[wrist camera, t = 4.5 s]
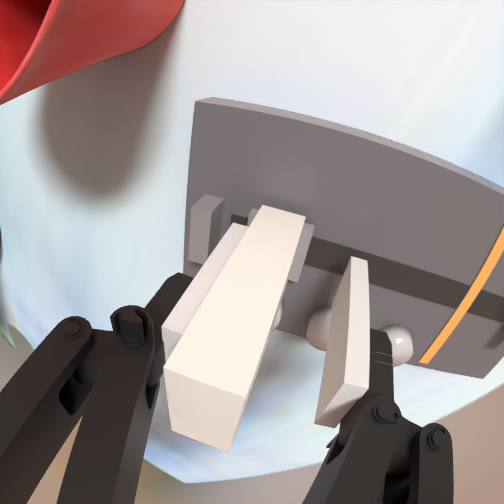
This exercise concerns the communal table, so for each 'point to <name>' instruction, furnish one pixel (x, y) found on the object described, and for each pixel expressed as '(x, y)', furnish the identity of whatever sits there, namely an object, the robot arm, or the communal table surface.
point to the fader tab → (234, 328)
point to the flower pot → (71, 36)
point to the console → (358, 228)
